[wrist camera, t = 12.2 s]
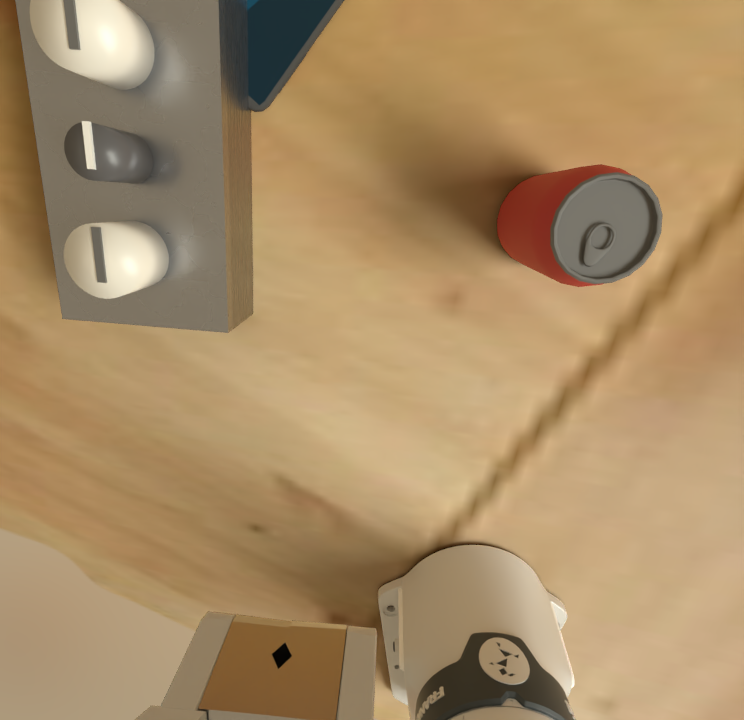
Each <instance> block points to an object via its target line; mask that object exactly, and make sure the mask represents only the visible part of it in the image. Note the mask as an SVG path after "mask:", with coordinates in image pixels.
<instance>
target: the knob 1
mask: <svg viewBox="0 0 744 720" xmlns="http://www.w3.org/2000/svg"><path fill="white" fill-rule="evenodd" d="M30 21H31V26H32V30H33V33H34V35H35V38H36V40H37V42H38V44H39V45H40V47H41V48H42V50H43V51H44V52H45V54H46V55H47V56H48V57H49V58H50V59H51V60H52V61H54V62H55V63H56V64H58V65H59V66H61V67H63V68H65V69H67V70H70V71H72V72H75V73H77V74H79V75H82V76H84V77H87V78H89V79H92V80H94V81H97V82H99V83H102V84H104V85H107V86H109V87H112V88H115V89H120V90H128V89H132V88H135V87H137V86H139V85H140V84H142V83H143V82H144V81H145V80H146V79H147V77H148V76H149V74H150V72H151V70H152V67H153V63H154V56H155V55H154V43H153V39H152V36H151V33H150V31H149V29H148V27H147V25H146V24H145V22H144V21H143V20H142V18H141V17H140V16H139V15H138V14H137V13H136V12H134V11H133V10H132V9H131V8H129V7H128V6H126V5H125V4H124V3H122V2H121V1H120V0H31V1H30Z"/></svg>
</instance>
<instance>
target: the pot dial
mask: <svg viewBox="0 0 744 720" xmlns="http://www.w3.org/2000/svg"><path fill="white" fill-rule="evenodd" d="M64 151H65V155H66V158H67V161H68V162H69V164H70V166H71V167H72V168H73V170H74V171H75V172H76V173H77V174H79V175H80V176H82V177H83V178H85V179H88V180H92V181H104V182H118V183H131V184H136V183H140V182H143V181H144V180H146V179H147V178H148V177H149V175H150V174H151V172H152V169H153V156H152V152H151V150H150V148H149V146H148V144H147V143H146V142H145V141H144V140H143V139H142V138H141V137H139V136H138V135H136V134H133V133H129V132H126V131H122V130H118V129H114V128H111V127H107V126H103V125H99V124H95V123H92V122H89V121H82V122H80V123H77V124H75V125H74V126H72V127H71V128H70V129H69V131H68V132H67V134H66V137H65V141H64Z"/></svg>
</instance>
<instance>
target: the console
mask: <svg viewBox="0 0 744 720" xmlns="http://www.w3.org/2000/svg"><path fill="white" fill-rule="evenodd" d="M30 1H31V0H15V2H16V8H17V15H18V22H19V29H20V35H21V42H22V49H23V56H24V62H25V69H26V76H27V83H28V89H29V96H30V103H31V110H32V116H33V123H34V130H35V137H36V143H37V150H38V157H39V163H40V170H41V177H42V184H43V190H44V197H45V204H46V211H47V217H48V224H49V231H50V238H51V244H52V251H53V258H54V265H55V271H56V278H57V285H58V292H59V298H60V305H61V312H62V319H70V320H82V321H94V322H106V323H118V324H130V325H142V326H154V327H166V328H178V329H190V330H201V331H213V332H225V333H229V332H230V331H231V330H232V329H234V328H235V327H236V326H238V325H239V324H240V323H242V322H243V321H244V320H245V319H247V318H248V317H249V316H251V315H252V314H253V265H252V178H251V109H250V108H249V99H248V29H247V0H120V1H121V2H122V3H124V4H125V5H126V6H128V7H129V8H131V9H132V10H133V11H134V12H136V13H137V14H138V15H139V16H140V17H141V18H142V20H143V21H144V22H145V24H146V25H147V27H148V29H149V31H150V33H151V36H152V39H153V43H154V55H155V56H154V63H153V67H152V70H151V72H150V74H149V76H148V77H147V79H146V80H145V81H144V82H143V83H142V84H140V85H139V86H137V87H135V88H132V89H128V90H120V89H115V88H112V87H109V86H107V85H104V84H102V83H99V82H97V81H94V80H92V79H89V78H87V77H84V76H82V75H79V74H77V73H75V72H72V71H70V70H67V69H65V68H63V67H61V66H59V65H58V64H56V63H55V62H54V61H52V60H51V59H50V58H49V57H48V56H47V55H46V54H45V52H44V51H43V50H42V48H41V47H40V45H39V44H38V42H37V40H36V38H35V35H34V33H33V30H32V26H31V21H30ZM82 121H89V122H92V123H95V124H99V125H103V126H107V127H111V128H114V129H118V130H122V131H126V132H129V133H133V134H136V135H138V136H139V137H141V138H142V139H143V140H144V141H145V142H146V143H147V144H148V146H149V148H150V150H151V152H152V156H153V169H152V172H151V174H150V175H149V177H148V178H147V179H146V180H144V181H143V182H140V183H136V184H131V183H118V182H104V181H92V180H88V179H85V178H83V177H82V176H80V175H79V174H77V173H76V172H75V171H74V170H73V168H72V167H71V166H70V164H69V162H68V161H67V158H66V155H65V151H64V141H65V137H66V134H67V132H68V131H69V129H70V128H71V127H72V126H74V125H75V124H77V123H80V122H82ZM118 221H138V222H142V223H144V224H147V225H148V226H150V227H151V228H153V229H154V230H155V231H156V232H157V233H158V234H159V235H160V236H161V238H162V239H163V241H164V242H165V244H166V247H167V250H168V255H169V265H168V269H167V272H166V274H165V275H164V277H163V278H162V279H161V280H160V281H159V282H158V283H156V284H155V285H152V286H150V287H147V288H144V289H141V290H138V291H135V292H132V293H129V294H126V295H123V296H120V297H117V298H112V299H104V298H98V297H95V296H93V295H90V294H88V293H87V292H85V291H84V290H82V289H81V288H80V287H79V286H78V285H77V284H76V283H75V282H74V281H73V279H72V278H71V276H70V275H69V273H68V270H67V268H66V265H65V261H64V247H65V243H66V240H67V238H68V236H69V235H70V234H71V232H72V231H74V230H75V229H76V228H78V227H79V226H81V225H84V224H89V223H102V222H118Z"/></svg>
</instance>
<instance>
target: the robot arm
mask: <svg viewBox="0 0 744 720" xmlns="http://www.w3.org/2000/svg"><path fill="white" fill-rule="evenodd" d="M378 604H379V610H380V617H381V624H382V630H383V637H384V643H385V650H386V657H387V663H388V670H389V677H390V683H391V690H392V694H393V697H394V698H395V699H397V700H398V701H400V702H402V703H404V704H406V705H408V708H409V715H410V720H576V719H575V716H574V713H573V711H572V708H571V706H570V705H569V702H568V699H567V697H568V696H569V694H570V691H571V688H572V687H574V675H573V672H572V668H571V665H570V661H569V658H568V654H567V651H566V648H565V644H564V641H563V638H562V634H561V629H562V627H563V625H564V623H565V622H566V619H567V613H566V609H565V606H564V604H563V603H562V602H561V601H560V600H559V599H557V598H556V597H555V596H553V595H552V594H550V593H549V592H547V591H546V590H545V588H544V587H543V585H542V584H541V582H540V580H539V578H538V577H537V575H536V573H535V572H534V571H533V570H532V568H531V567H530V566H529V565H528V564H526V563H525V562H524V561H523V560H521V559H520V558H518V557H517V556H515V555H513V554H511V553H509V552H507V551H504V550H502V549H499V548H495V547H490V546H484V545H462V546H455V547H450V548H447V549H443V550H441V551H438V552H436V553H434V554H432V555H430V556H428V557H426V558H425V559H423V560H422V561H420V562H419V563H418V564H417V565H416V566H415V567H414V568H413V569H412V570H411V571H409V572H408V573H407V574H406V575H405V576H403V577H402V578H399V579H396V580H394V581H391V582H389V583H387V584H385V585H383V586H382V587H380V589H379V590H378ZM390 605H392V606H390ZM376 647H377V631H376V628H367V627H357V626H348V629H347V625H341V624H329V623H317V622H305V621H293V620H292V621H285V620H277V619H269V618H261V617H253V616H246V615H238V614H237V615H236V614H227V613H219V612H210V611H208V612H207V613H206V615H205V616H204V617H203V618H202V619H201V621H200V624H199V626H198V628H197V630H196V632H195V634H194V637H193V639H192V641H191V643H190V645H189V647H188V649H187V651H186V653H185V656H184V658H183V660H182V662H181V664H180V666H179V669H178V671H177V672H176V675H175V677H174V679H173V681H172V683H171V685H170V688H169V690H168V692H167V694H166V696H165V698H164V700H163V703H162V704H161V706H150V707H149V708H148V709H147V710H146V711H144V712H143V713H142V714H141V715H140V716H138V717H137V718H136V719H135V720H373V716H374V693H375V670H376Z"/></svg>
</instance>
